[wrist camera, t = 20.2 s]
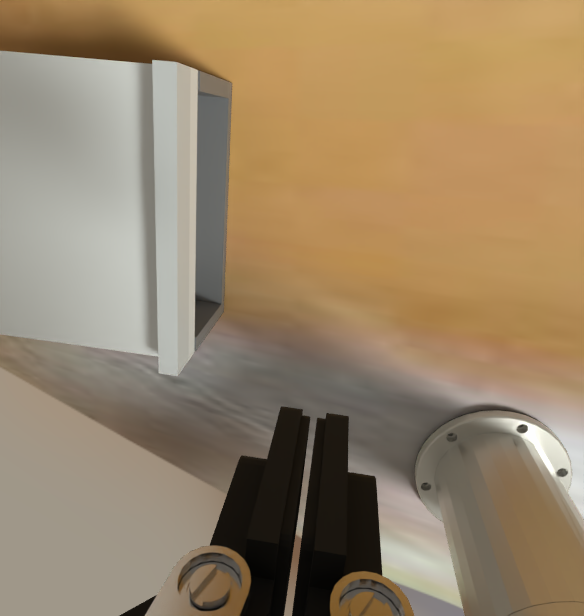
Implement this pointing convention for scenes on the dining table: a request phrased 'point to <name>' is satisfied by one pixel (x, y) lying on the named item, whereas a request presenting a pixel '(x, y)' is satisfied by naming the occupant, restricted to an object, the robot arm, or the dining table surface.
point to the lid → (99, 204)
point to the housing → (211, 200)
